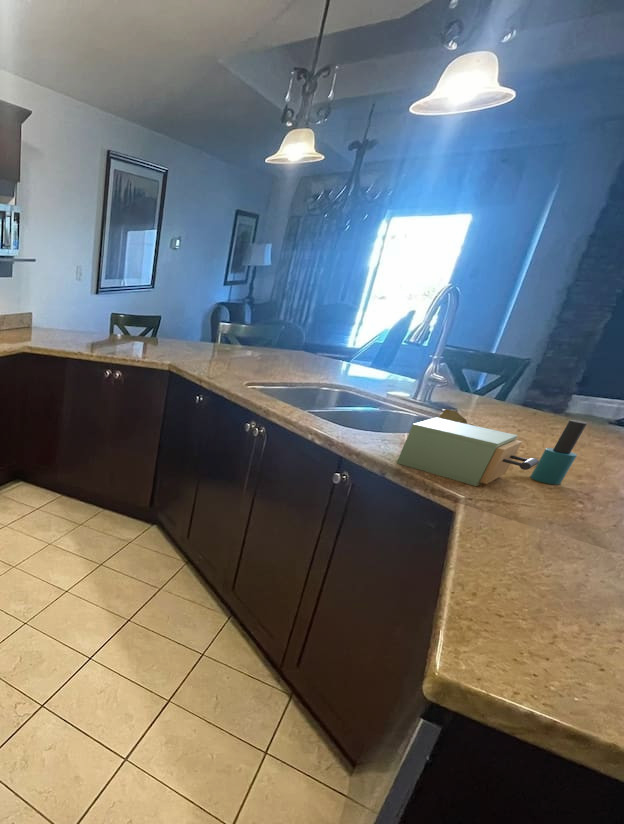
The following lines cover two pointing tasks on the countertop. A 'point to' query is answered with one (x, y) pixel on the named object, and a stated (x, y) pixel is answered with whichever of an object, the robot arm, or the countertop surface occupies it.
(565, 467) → the dark grey teal stick
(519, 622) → the countertop surface
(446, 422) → the cabinet
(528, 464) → the drawer
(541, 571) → the countertop surface
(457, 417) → the rock
